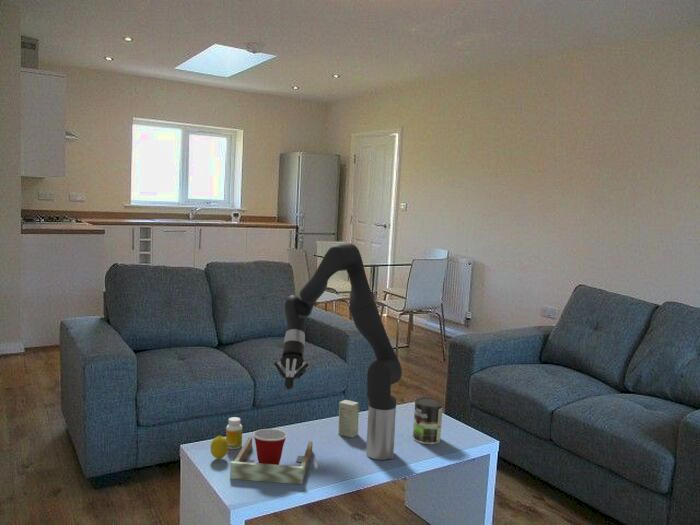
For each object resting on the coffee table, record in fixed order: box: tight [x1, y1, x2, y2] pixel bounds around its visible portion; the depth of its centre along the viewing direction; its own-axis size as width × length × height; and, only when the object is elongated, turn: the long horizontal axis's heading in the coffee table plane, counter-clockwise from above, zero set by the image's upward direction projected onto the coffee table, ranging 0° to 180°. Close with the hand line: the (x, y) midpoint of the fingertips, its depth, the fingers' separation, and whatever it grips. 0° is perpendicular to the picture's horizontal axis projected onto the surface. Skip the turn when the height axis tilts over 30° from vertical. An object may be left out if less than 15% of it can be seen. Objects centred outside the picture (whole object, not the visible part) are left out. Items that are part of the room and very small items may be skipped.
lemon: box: [210, 435, 229, 461], centre depth 196 cm, size 6×6×8 cm
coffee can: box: [412, 396, 444, 445], centre depth 221 cm, size 10×10×14 cm
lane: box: [229, 436, 314, 485], centre depth 194 cm, size 22×24×5 cm
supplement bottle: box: [225, 416, 243, 450], centre depth 206 cm, size 5×5×10 cm
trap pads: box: [243, 455, 304, 464], centre depth 196 cm, size 22×6×1 cm, turn 106°
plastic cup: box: [252, 428, 288, 465], centre depth 190 cm, size 11×11×12 cm
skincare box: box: [338, 399, 360, 439], centre depth 222 cm, size 6×4×12 cm
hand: (288, 388), depth 209 cm, fingers closed
